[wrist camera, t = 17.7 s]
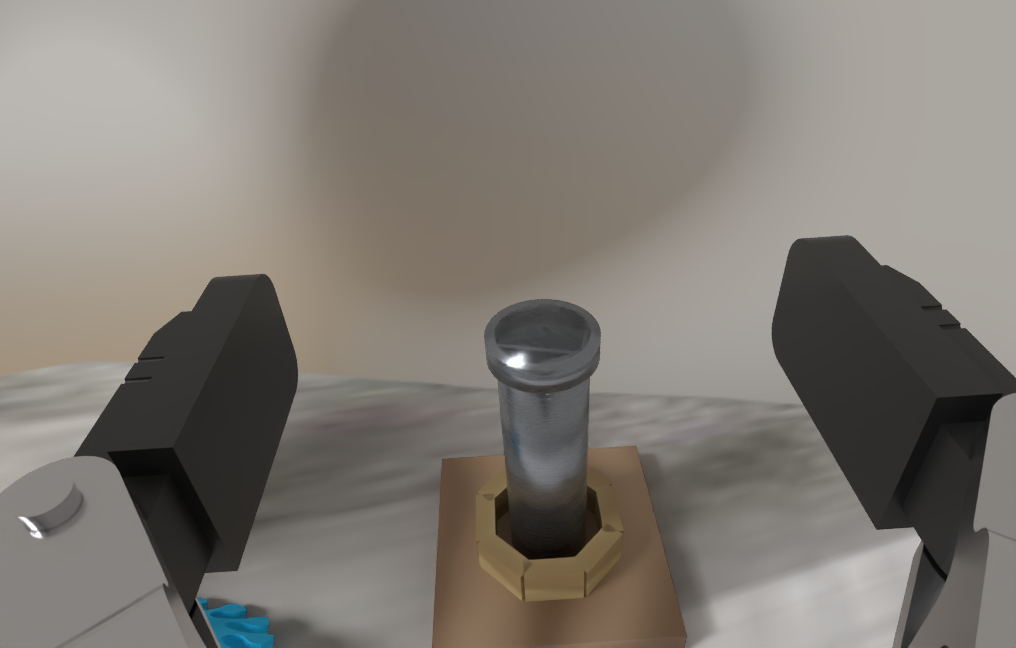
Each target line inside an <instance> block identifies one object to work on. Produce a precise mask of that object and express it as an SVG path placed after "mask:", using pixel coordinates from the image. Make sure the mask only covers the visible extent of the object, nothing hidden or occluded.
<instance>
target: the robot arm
mask: <svg viewBox="0 0 1016 648" xmlns="http://www.w3.org/2000/svg"><path fill="white" fill-rule="evenodd" d="M772 342H773V348H774V352H775V355H776V358H777V360H778V362H779V363H780V365H781V367H782V368H783V370H784V372H785V374H786V376H787V377H788V379H789V380H790V382H791V384H792V386H793V387H794V389H795V391H796V393H797V394H798V396H799V397H800V399H801V401H802V403H803V405H804V406H805V408H806V410H807V411H808V413H809V415H810V417H811V418H812V420H813V422H814V423H815V425H816V427H817V429H818V430H819V432H820V434H821V435H822V437H823V439H824V441H825V442H826V444H827V446H828V447H829V449H830V451H831V453H832V454H833V456H834V458H835V459H836V461H837V463H838V465H839V466H840V468H841V470H842V471H843V473H844V475H845V476H846V478H847V480H848V482H849V483H850V485H851V487H852V488H853V490H854V492H855V494H856V495H857V497H858V499H859V500H860V502H861V504H862V506H863V507H864V509H865V511H866V512H867V514H868V516H869V518H870V519H871V521H872V523H873V524H874V526H875V528H876V530H880V529H894V528H909V527H914V529H915V530H916V532H917V533H918V535H919V537H920V538H921V540H922V541H921V542H920V544H919V546H918V548H917V550H916V552H915V555H914V557H913V562H912V566H911V570H910V574H909V579H908V583H907V587H906V592H905V596H904V600H903V604H902V609H901V613H900V617H899V622H898V626H897V630H896V634H895V639H894V643H893V647H892V648H1016V378H1015V377H1014V376H1013V375H1012V374H1011V373H1010V372H1009V371H1008V370H1007V369H1006V368H1005V367H1004V366H1003V365H1002V364H1001V363H1000V362H999V361H998V360H997V359H996V358H995V357H994V356H993V355H992V354H991V353H990V352H989V351H988V350H987V349H986V348H985V347H984V346H983V345H982V344H981V343H980V342H979V341H978V340H977V339H976V338H975V337H974V336H973V335H972V334H971V333H970V332H969V331H968V330H967V329H965V328H962V329H961V328H960V323H959V321H958V320H956V318H955V317H954V316H952V314H950V313H949V312H948V311H947V310H942V305H941V304H940V303H939V302H938V301H937V300H936V299H935V298H934V297H933V296H932V295H931V294H930V293H929V292H928V291H927V290H926V289H925V288H924V287H923V286H922V285H921V284H920V283H919V282H917V281H915V280H913V279H911V278H910V277H908V276H906V275H904V274H902V273H900V272H898V271H897V270H895V269H893V268H891V267H889V266H887V265H884V266H881V265H880V264H879V263H878V262H877V261H876V260H875V259H874V258H873V257H872V256H871V254H869V253H868V251H867V250H866V249H865V248H864V247H863V246H862V245H861V244H860V243H859V242H858V241H857V240H856V239H855V238H853V237H852V236H848V235H847V236H833V237H818V238H802V239H797V240H796V241H795V242H794V243H793V244H792V246H791V248H790V250H789V254H788V257H787V262H786V266H785V271H784V275H783V279H782V283H781V287H780V292H779V296H778V300H777V305H776V309H775V313H774V317H773V323H772ZM297 382H298V368H297V359H296V354H295V350H294V347H293V344H292V341H291V338H290V335H289V332H288V329H287V326H286V322H285V319H284V316H283V313H282V310H281V307H280V304H279V301H278V298H277V294H276V291H275V288H274V286H273V283H272V281H271V280H270V278H269V277H268V276H267V275H265V274H256V275H242V276H226V277H215V278H213V279H212V280H211V281H210V282H209V284H208V285H207V287H206V289H205V290H204V292H203V294H202V295H201V297H200V299H199V300H198V302H197V304H196V305H195V307H194V308H193V310H192V311H188V312H181V313H179V314H178V315H177V316H176V317H175V318H173V319H172V320H171V321H170V322H168V323H167V324H166V325H164V326H163V327H162V328H161V329H159V330H158V331H157V332H156V333H154V334H153V336H152V337H151V339H150V341H149V342H148V344H147V345H146V347H145V348H144V350H143V351H142V353H141V355H140V356H139V357H138V363H134V365H133V367H132V368H131V370H130V371H129V373H128V374H127V376H126V377H125V384H121V385H120V386H119V388H118V389H117V391H116V392H115V394H114V396H113V397H112V399H111V400H110V402H109V403H108V405H107V406H106V408H105V409H104V411H103V412H102V414H101V415H100V417H99V418H98V420H97V422H96V423H95V425H94V426H93V428H92V429H91V431H90V432H89V434H88V435H87V437H86V438H85V440H84V441H83V443H82V444H81V446H80V448H79V449H78V451H77V452H76V454H75V455H74V457H71V458H67V459H62V460H59V461H56V462H53V463H50V464H47V465H45V466H43V467H40V468H38V469H36V470H34V471H32V472H30V473H28V474H26V475H25V476H23V477H22V478H20V479H19V480H17V481H15V482H14V483H13V484H11V485H10V486H9V487H7V488H6V489H5V490H4V491H3V492H2V493H0V648H221V646H220V644H219V642H218V639H217V637H216V635H215V633H214V631H213V629H212V627H211V625H210V623H209V620H208V618H207V616H206V614H205V612H204V610H203V608H202V606H201V604H200V602H199V601H198V599H197V598H196V595H197V592H198V590H199V587H200V584H201V581H202V579H203V576H204V573H211V572H226V571H238V568H239V565H240V561H241V558H242V555H243V552H244V549H245V546H246V543H247V540H248V537H249V534H250V531H251V528H252V525H253V522H254V519H255V515H256V512H257V509H258V506H259V503H260V500H261V497H262V494H263V491H264V488H265V485H266V482H267V479H268V476H269V473H270V470H271V466H272V463H273V460H274V457H275V454H276V451H277V448H278V445H279V442H280V439H281V436H282V433H283V430H284V427H285V424H286V421H287V417H288V414H289V411H290V408H291V405H292V402H293V399H294V396H295V393H296V389H297Z"/></svg>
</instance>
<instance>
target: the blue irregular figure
mask: <svg viewBox="0 0 1016 648" xmlns="http://www.w3.org/2000/svg"><path fill="white" fill-rule="evenodd" d="M197 599H198V601H199V602H200V604H201V606H202V608H203V610H204V612H205V614H206V616H207V618H208V620H209V623H210V625H211V627H212V629H213V631H214V633H215V635H216V637H217V639H218V642H219V644H220V646H221V648H273V643H274V637H275V636H274V635H271V634H267V633H268V627H269V619H268V617H251V618H246V613H247V609H246V608H245V607H243V606H241V605H239V604H227V605H224V606H222V607H219V608H215V609H210V610H206V608H207V602H208V600H205V599H201V598H197Z"/></svg>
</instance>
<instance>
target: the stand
mask: <svg viewBox="0 0 1016 648" xmlns="http://www.w3.org/2000/svg"><path fill="white" fill-rule="evenodd" d="M686 637H687V635H686V631H685V627H684V624H683V620H682V616H681V612H680V609H679V605H678V601H677V597H676V594H675V590H674V586H673V582H672V579H671V575H670V571H669V567H668V564H667V560H666V556H665V552H664V549H663V545H662V541H661V537H660V534H659V530H658V526H657V522H656V519H655V515H654V511H653V507H652V504H651V500H650V496H649V492H648V489H647V485H646V481H645V477H644V474H643V470H642V466H641V462H640V459H639V455H638V451H637V447H636V446H626V447H611V448H596V449H588V463H587V502H586V539H585V546H584V548H583V549H582V550H581V551H580V552H579V553H578V554H577V556H576V557H567V558H552V559H537V560H528V559H527V558H526V557H524V556H523V555H522V554H520V553H519V552H518V551H517V550H515V549H514V548H513V544H512V537H511V526H510V514H509V503H508V491H507V480H506V468H505V457H504V455H494V456H479V457H464V458H450V459H442V472H441V491H440V510H439V528H438V547H437V566H436V585H435V603H434V622H433V641H432V648H684V647H685V642H686Z"/></svg>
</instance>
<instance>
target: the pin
mask: <svg viewBox="0 0 1016 648" xmlns="http://www.w3.org/2000/svg"><path fill="white" fill-rule="evenodd" d="M600 337H601V332H600V327H599V324H598V322H597V321H596V319H595V318H594V317H593V316H592V315H591V314H590V313H589V312H588V311H586V310H584V309H583V308H581V307H579V306H577V305H574V304H571V303H568V302H564V301H560V300H552V299H537V300H529V301H524V302H520V303H516V304H514V305H511V306H509V307H507V308H505V309H503V310H501V311H500V312H498V313H497V314H496V315H495V316H494V317H493V318H492V319H491V320H490V322H489V323H488V324H487V326H486V329H485V335H484V338H485V349H486V359H487V365H488V368H489V369H490V371H491V373H492V374H493V375H494V376H495V377H496V378H497V379H498V388H499V400H500V411H501V423H502V434H503V445H504V457H505V468H506V480H507V491H508V503H509V514H510V526H511V537H512V544H513V548H514V549H515V550H517V551H518V552H519V553H520V554H522V555H523V556H524V557H526V558H527V559H528V560H537V559H552V558H567V557H576V556H577V554H578V553H579V552H580V551H581V550H582V549H583V548H584V546H585V539H586V502H587V463H588V424H589V385H590V376H591V375H592V374H593V373H594V371H595V370H596V368H597V366H598V364H599V360H600Z"/></svg>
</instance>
